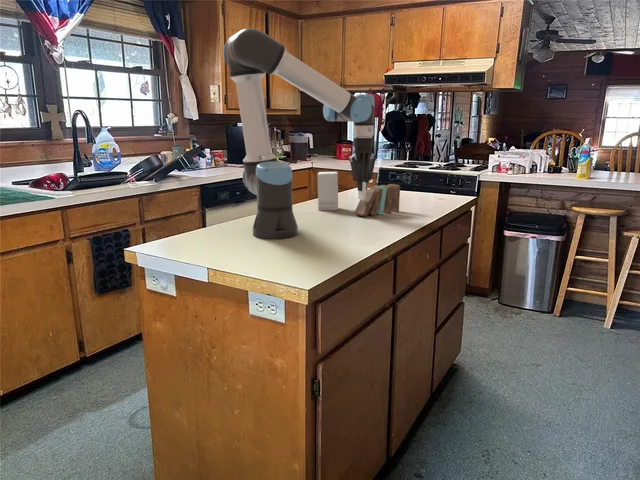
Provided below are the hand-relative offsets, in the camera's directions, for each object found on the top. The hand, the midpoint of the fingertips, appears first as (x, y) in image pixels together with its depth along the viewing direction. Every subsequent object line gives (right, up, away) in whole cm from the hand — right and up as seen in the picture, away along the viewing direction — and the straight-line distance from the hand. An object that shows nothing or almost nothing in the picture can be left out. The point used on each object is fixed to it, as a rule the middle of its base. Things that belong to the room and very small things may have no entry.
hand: (362, 198), depth 186 cm
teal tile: (+6, -5, +7) cm, 11 cm away
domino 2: (+3, -6, +4) cm, 8 cm away
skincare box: (-13, -3, +16) cm, 21 cm away
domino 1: (-1, -6, +1) cm, 6 cm away
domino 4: (+14, -4, +12) cm, 19 cm away
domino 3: (+10, -5, +9) cm, 15 cm away
